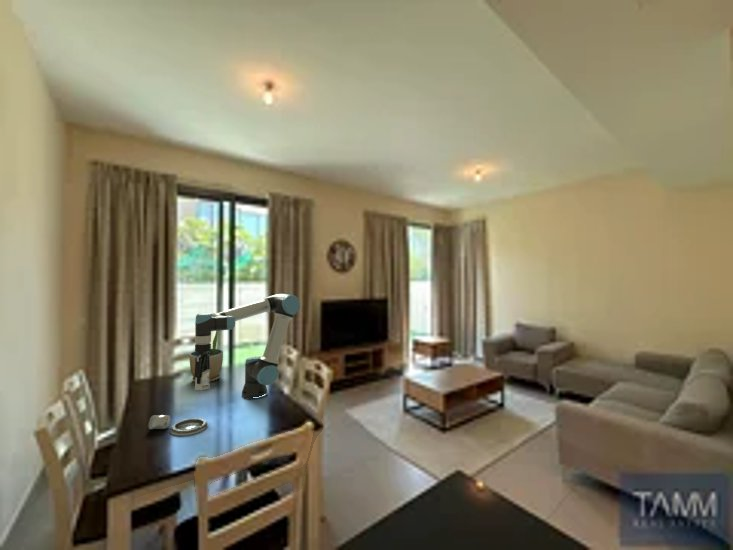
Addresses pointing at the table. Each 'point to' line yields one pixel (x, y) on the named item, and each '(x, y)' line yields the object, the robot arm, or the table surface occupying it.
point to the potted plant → (215, 361)
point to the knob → (205, 379)
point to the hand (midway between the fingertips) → (202, 387)
